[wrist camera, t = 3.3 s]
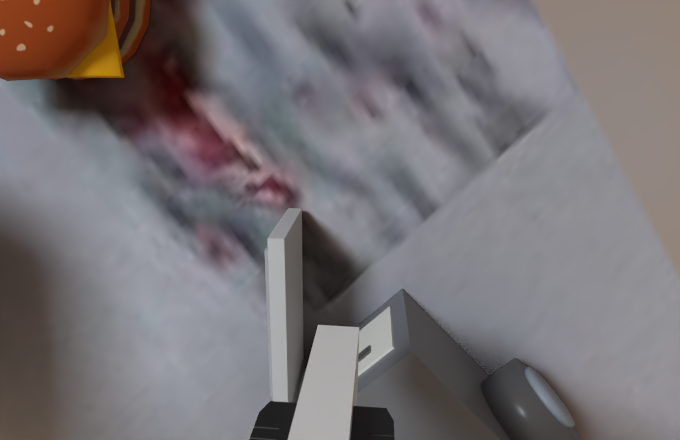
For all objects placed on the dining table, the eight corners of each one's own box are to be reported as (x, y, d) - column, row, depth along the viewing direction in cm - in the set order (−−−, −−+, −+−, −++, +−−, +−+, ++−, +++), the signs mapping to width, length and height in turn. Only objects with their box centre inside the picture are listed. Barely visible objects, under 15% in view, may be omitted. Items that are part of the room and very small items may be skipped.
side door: (288, 367, 30) (268, 434, 24) (285, 207, 27) (260, 241, 21) (305, 369, 30) (289, 436, 24) (303, 208, 27) (284, 241, 21)
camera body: (299, 369, 31) (274, 461, 23) (433, 257, 28) (455, 322, 20) (440, 498, 33) (459, 620, 25) (578, 407, 30) (646, 515, 22)
